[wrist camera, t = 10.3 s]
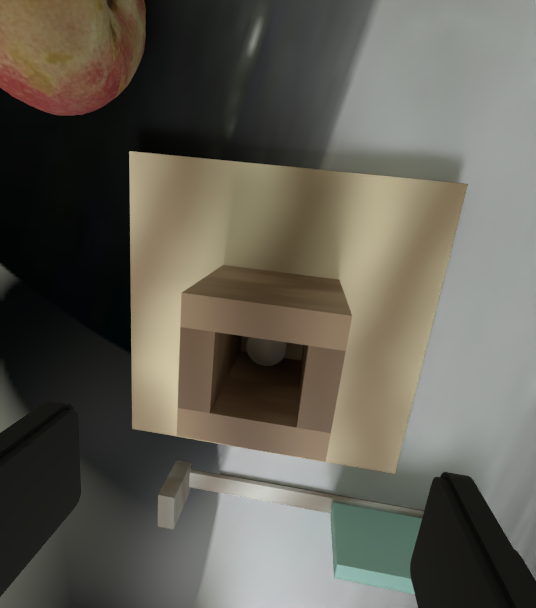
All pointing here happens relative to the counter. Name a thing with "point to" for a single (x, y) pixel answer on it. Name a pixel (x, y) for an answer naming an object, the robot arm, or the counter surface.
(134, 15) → the fruit
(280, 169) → the seat
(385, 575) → the bar
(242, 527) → the counter surface
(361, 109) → the counter surface
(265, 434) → the block
